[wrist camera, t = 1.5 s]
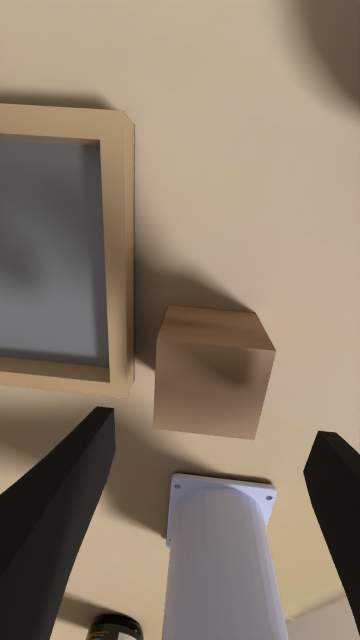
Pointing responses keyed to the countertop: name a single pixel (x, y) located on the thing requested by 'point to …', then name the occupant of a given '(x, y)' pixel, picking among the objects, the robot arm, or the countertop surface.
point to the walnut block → (211, 372)
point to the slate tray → (67, 249)
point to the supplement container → (114, 628)
